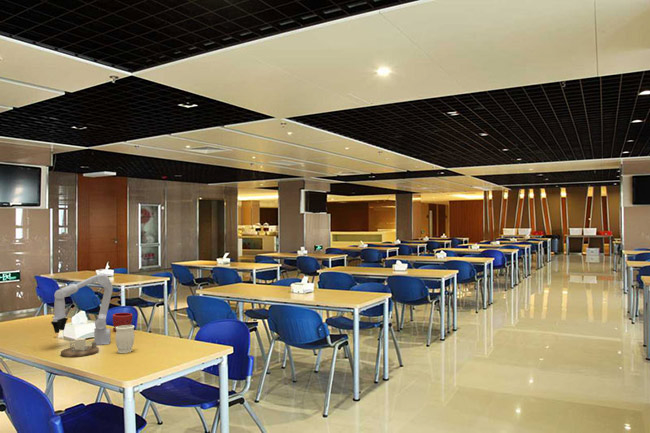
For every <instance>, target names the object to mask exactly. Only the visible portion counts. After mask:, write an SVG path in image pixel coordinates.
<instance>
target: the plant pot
mask: <svg viewBox="0 0 650 433" xmlns="http://www.w3.org/2000/svg"><path fill="white" fill-rule="evenodd" d="M132 322H133V313H131V312H130V313H129V312H117V313H114V314H112V325H113V326H114V327H113V328H112V330H113V331H114V332H116V327H117V326H122V325H132Z"/></svg>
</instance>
